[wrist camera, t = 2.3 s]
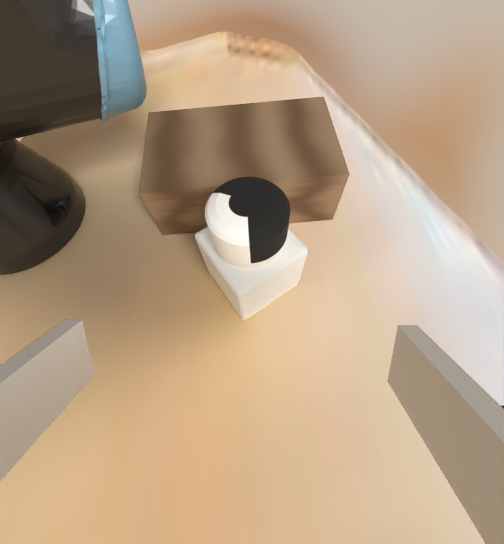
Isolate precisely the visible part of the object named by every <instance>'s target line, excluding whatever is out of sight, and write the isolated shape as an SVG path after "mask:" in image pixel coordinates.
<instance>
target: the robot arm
mask: <svg viewBox="0 0 504 544" xmlns="http://www.w3.org/2000/svg"><path fill="white" fill-rule="evenodd" d="M146 90H147V87H146V80H145V75H144V70H143V65H142V61H141V56H140V51H139V47H138V43H137V38H136V34H135V30H134V26H133V21H132V17H131V13H130V9H129V5H128V1H127V0H0V275H3V274H10V273H15V272H19V271H23V270H25V269H28V268H31V267H33V266H35V265H37V264H39V263H41V262H43V261H45V260H46V259H48V258H50V257H51V256H52V255H54V254H55V253H56V252H58V251H59V250H60V249H61V248H62V247H63V246H64V245H66V243H67V242H68V241H69V240H70V239H71V238H72V237H73V235H74V234H75V232H76V231H77V229H78V228H79V226H80V224H81V221H82V219H83V216H84V211H85V199H84V196H83V193H82V191H81V189H80V188H79V187H78V185H77V184H76V183H75V182H74V181H73V179H72V178H71V177H70V176H69V175H68V174H67V173H66V172H65V171H64V170H62V169H61V168H60V167H58V166H56V165H55V164H53V163H52V162H50V161H49V160H47V159H45V158H44V157H42V156H41V155H39V154H38V153H36V152H34V151H33V150H31V149H30V148H28V147H27V146H25V145H23V144H22V143H20V142H19V141H17V140H16V139H15V138H20V137H24V136H28V135H32V134H36V133H41V132H45V131H49V130H53V129H57V128H62V127H66V126H70V125H74V124H78V123H82V122H87V121H91V120H95V119H99V118H100V119H101V121H105V120H107V119H108V117H109V116H112V115H116V114H119V113H123V112H126V111H130V110H133V109H136V108H137V107H139V106H140V105H141V104H142V103H143V101H144V99H145V97H146ZM93 375H94V370H93V366H92V361H91V357H90V353H89V348H88V344H87V340H86V335H85V331H84V327H83V322H82V320H64V321H62V322H61V323H59V324H58V325H56V326H55V327H54V328H52V329H51V330H49V331H48V332H46V333H45V334H44V335H42V336H41V337H39V338H38V339H37V340H35V341H34V342H32V343H31V344H29V345H28V346H27V347H25V348H24V349H22V350H21V351H20V352H18V353H17V354H15V355H14V356H12V357H11V358H10V359H8V360H7V361H5V362H4V363H3V364H1V365H0V481H1V480H2V479H3V478H4V477H5V476H6V474H7V473H8V472H9V471H10V470H11V469H12V468H13V466H14V465H15V464H16V463H17V462H18V461H19V460H20V458H21V457H22V456H23V455H24V454H25V453H26V452H27V450H28V449H29V448H30V447H31V446H32V445H33V443H34V442H35V441H36V440H37V439H38V438H39V437H40V435H41V434H42V433H43V432H44V431H45V430H46V429H47V427H48V426H49V425H50V424H51V423H52V422H53V421H54V419H55V418H56V417H57V416H58V415H59V414H60V413H61V411H62V410H63V409H64V408H65V407H66V406H67V405H68V403H69V402H70V401H71V400H72V399H73V398H74V397H75V395H76V394H77V393H78V392H79V391H80V390H81V389H82V387H83V386H84V385H85V384H86V383H87V382H88V381H89V379H90V378H91V377H92V376H93ZM388 383H389V384H390V386H391V388H392V389H393V391H394V393H395V394H396V396H397V398H398V399H399V401H400V403H401V404H402V406H403V408H404V409H405V411H406V413H407V414H408V416H409V418H410V419H411V421H412V423H413V424H414V426H415V427H416V429H417V431H418V432H419V434H420V436H421V437H422V439H423V441H424V442H425V444H426V446H427V447H428V449H429V451H430V452H431V454H432V456H433V457H434V459H435V461H436V462H437V464H438V466H439V467H440V469H441V471H442V472H443V474H444V475H445V477H446V479H447V480H448V482H449V484H450V485H451V487H452V489H453V490H454V492H455V494H456V495H457V497H458V499H459V500H460V502H461V504H462V505H463V507H464V509H465V510H466V512H467V514H468V515H469V517H470V519H471V520H472V522H473V523H474V525H475V527H476V528H477V530H478V532H479V533H480V535H481V537H482V538H483V540H484V542H485V543H486V544H504V406H500V405H499V404H498V403H497V402H496V401H495V400H494V399H493V398H492V397H491V396H490V395H489V394H488V393H487V392H486V391H485V390H484V389H483V388H481V387H480V386H479V385H478V384H477V383H476V382H475V381H474V380H473V379H472V378H471V377H470V376H469V375H468V374H467V373H466V372H465V371H464V370H463V369H462V368H461V367H460V366H459V365H458V364H457V363H456V362H455V361H454V360H452V359H451V358H450V357H449V356H448V355H447V354H446V353H445V352H444V351H443V350H442V349H441V348H440V347H439V346H438V345H437V344H436V343H435V342H434V341H433V340H432V339H431V338H430V337H429V336H428V335H427V334H426V333H425V332H424V331H422V330H421V329H420V328H419V327H418V326H409V325H398V328H397V333H396V339H395V344H394V349H393V355H392V360H391V366H390V371H389V376H388Z"/></svg>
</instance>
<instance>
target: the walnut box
mask: <svg viewBox="0 0 504 544" xmlns="http://www.w3.org/2000/svg"><path fill="white" fill-rule="evenodd" d="M348 176H349V171H348V168H347V165H346V162H345V159H344V156H343V153H342V150H341V147H340V144H339V141H338V138H337V135H336V132H335V129H334V126H333V123H332V120H331V117H330V114H329V111H328V108H327V105H326V102H325V99H324V97H315V98H304V99H293V100H282V101H271V102H260V103H249V104H238V105H227V106H216V107H205V108H194V109H183V110H172V111H161V112H150V113H149V114H148V123H147V131H146V139H145V147H144V155H143V163H142V171H141V179H140V187H139V195H140V197H141V198H142V200H143V202H144V203H145V205H146V207H147V209H148V210H149V212H150V214H151V215H152V217H153V219H154V221H155V222H156V224H157V226H158V228H159V229H160V231H161V233H162V234H163V235H170V234H181V233H191V232H199V231H201V230H202V229H204V228H206V227H208V226H207V222H206V219H205V207H206V203H207V201H208V199H209V197H210V196H211V194H212V193H213V192H214V191H215V190H216V189H217V188H218V187H219V186H221V185H222V184H224V183H225V182H227V181H230V180H232V179H235V178H240V177H258V178H262V179H265V180H268V181H270V182H272V183H273V184H275V185H276V186H278V187H279V188H280V189H281V190H282V191H283V192H284V193H285V195H286V196H287V198H288V200H289V203H290V219H289V223H298V222H309V221H319V220H330V219H333V217H334V214H335V212H336V209H337V206H338V203H339V201H340V198H341V195H342V193H343V190H344V187H345V184H346V182H347V179H348Z"/></svg>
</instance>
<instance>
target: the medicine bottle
mask: <svg viewBox="0 0 504 544" xmlns="http://www.w3.org/2000/svg"><path fill="white" fill-rule="evenodd" d="M205 219H206V222H207V226H208V227H206V228H204V229H202V230H201V231H199V232H197V233H196V234H195V239H196V242H197V244H198V247H199V249H200V252H201V254H202V257H203V259H204V262H205V264H206V267H207V269H208V272H209V273H210V274H211V276H212V277H213V279H214V280H215V282H216V283H217V284H218V286H219V287H220V289H221V290H222V291H223V293H224V294H225V296H226V297H227V299H228V300H229V301H230V303H231V304H232V306H233V307H234V309H235V310H236V311H237V313H238V314H239V316H240V317H241V319H243V320H247V319H248V318H249V317H251V316H252V315H254V314H255V313H257V312H258V311H260V310H261V309H263V308H264V307H266V306H267V305H268V304H270V303H271V302H273V301H274V300H276V299H277V298H279V297H280V296H282V295H283V294H285V293H286V292H288V291H289V290H290V289H292V288H293V287H295V286H296V285H298V284H299V281H300V277H301V274H302V270H303V267H304V263H305V260H306V256H307V253H308V249H307V247H306V246H305V245H304V244H303V243H302V242H301V241H300V239H299V238H298V237H297V236H296V235H295V234H294V233H293V232H292V231H291V230H290V229H289V228H288V226H289V219H290V203H289V200H288V198H287V196H286V195H285V193H284V192H283V191H282V190H281V189H280V188H279V187H278V186H276V185H275V184H273V183H272V182H270V181H268V180H265V179H262V178H258V177H240V178H235V179H232V180H230V181H227V182H225V183H224V184H222V185H221V186H219V187H218V188H217V189H216V190H215V191H214V192H213V193H212V194H211V196H210V197H209V199H208V201H207V203H206V207H205Z"/></svg>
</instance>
